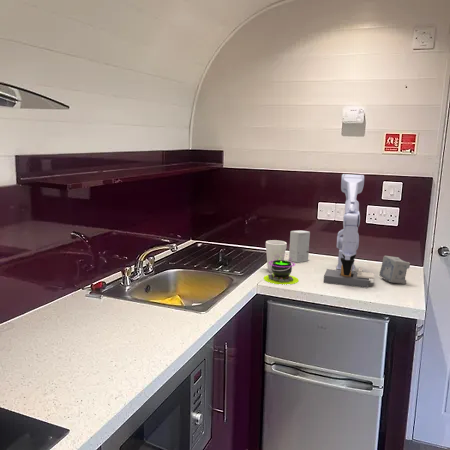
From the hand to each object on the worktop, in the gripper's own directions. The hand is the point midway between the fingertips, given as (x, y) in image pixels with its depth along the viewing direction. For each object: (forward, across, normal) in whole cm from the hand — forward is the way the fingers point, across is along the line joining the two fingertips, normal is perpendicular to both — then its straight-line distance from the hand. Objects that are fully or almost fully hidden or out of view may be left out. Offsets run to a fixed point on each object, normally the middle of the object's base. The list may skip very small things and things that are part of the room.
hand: (347, 272), depth 199 cm
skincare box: (+4, -26, -25) cm, 36 cm away
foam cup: (+4, -4, -32) cm, 33 cm away
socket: (+4, 0, 0) cm, 4 cm away
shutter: (+1, 0, +8) cm, 8 cm away
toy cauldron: (+4, +8, -26) cm, 28 cm away
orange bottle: (+4, 0, 0) cm, 4 cm away
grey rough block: (+4, -9, +19) cm, 21 cm away
